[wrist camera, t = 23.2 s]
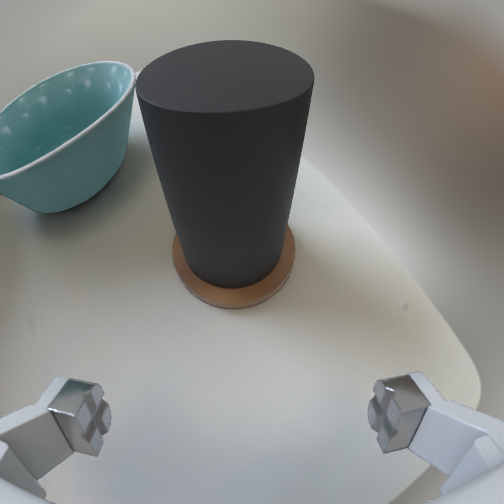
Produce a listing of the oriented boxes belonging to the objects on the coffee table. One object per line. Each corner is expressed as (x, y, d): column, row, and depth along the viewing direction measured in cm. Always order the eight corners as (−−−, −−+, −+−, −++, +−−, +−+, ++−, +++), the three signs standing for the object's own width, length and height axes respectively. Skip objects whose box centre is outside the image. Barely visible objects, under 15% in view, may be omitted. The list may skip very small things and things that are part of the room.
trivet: (316, 249, 21) (319, 242, 20) (236, 334, 18) (236, 330, 17) (232, 189, 23) (232, 180, 22) (152, 255, 20) (148, 247, 19)
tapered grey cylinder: (263, 196, 22) (276, 35, 11) (296, 273, 19) (348, 101, 8) (176, 216, 21) (136, 55, 10) (194, 300, 17) (134, 133, 7)
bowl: (164, 114, 29) (152, 46, 21) (139, 238, 21) (99, 153, 14) (45, 137, 28) (21, 84, 21) (-5, 249, 20) (-56, 195, 13)
